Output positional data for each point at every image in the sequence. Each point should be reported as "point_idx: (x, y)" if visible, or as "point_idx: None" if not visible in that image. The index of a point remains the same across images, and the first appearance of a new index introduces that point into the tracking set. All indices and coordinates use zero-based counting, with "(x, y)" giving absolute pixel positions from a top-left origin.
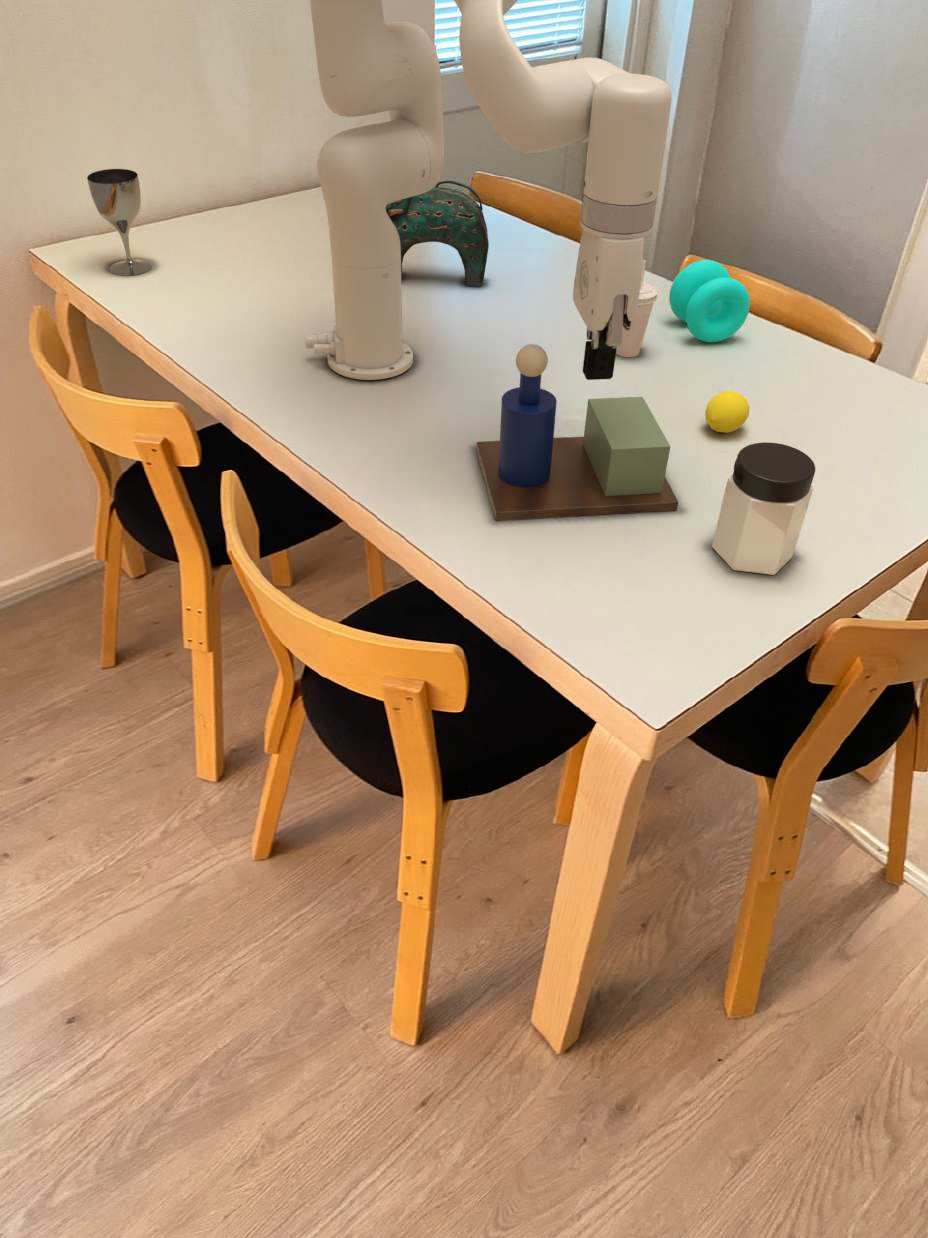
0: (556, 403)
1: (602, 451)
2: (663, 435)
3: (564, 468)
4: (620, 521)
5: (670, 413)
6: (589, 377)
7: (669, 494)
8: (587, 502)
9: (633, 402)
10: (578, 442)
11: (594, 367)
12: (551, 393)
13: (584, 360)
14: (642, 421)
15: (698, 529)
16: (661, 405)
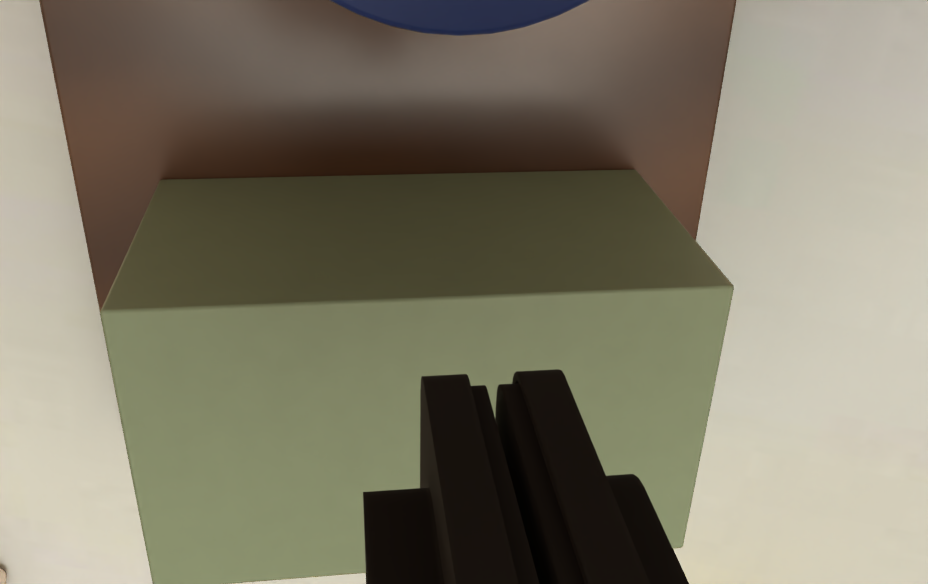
0: (378, 21)
1: (294, 248)
2: (269, 576)
3: None
4: (32, 205)
5: (814, 529)
6: (423, 410)
7: None
8: (100, 80)
9: None
10: (657, 152)
11: (395, 524)
12: (556, 10)
13: (567, 456)
14: None
15: (5, 476)
16: (877, 512)
